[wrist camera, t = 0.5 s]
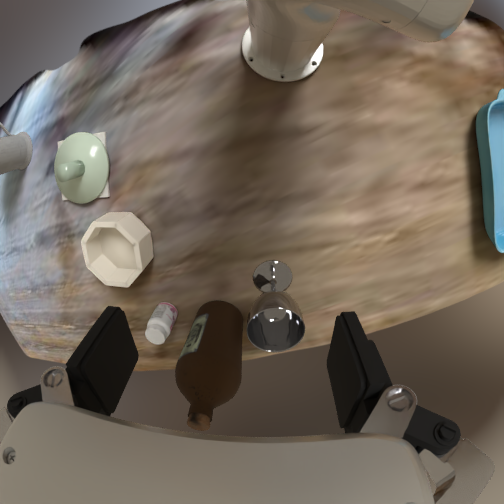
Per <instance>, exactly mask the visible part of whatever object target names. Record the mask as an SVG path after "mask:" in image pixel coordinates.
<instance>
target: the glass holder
mask: <svg viewBox="0 0 504 504" xmlns="http://www.w3.org/2000/svg"><path fill="white" fill-rule="evenodd" d="M0 127H1V128H2V129H3V130H4V132H5V133H6V134H7V135H8V136H6V137H1V138H0V175H1V174H4V173H7V172H10V171H13V170H16V169H19V170H23V169H25V168H26V167H27V166H28V165H29V163H30V160H31V157H32V141H31V138H30V136H29V135H28V134H27V133H26V132H20V133H19V134H17V135H11V134H10V133H9V132H8V131H7V129H6V128H5V127H4V126H3V125H2V124H1V122H0Z"/></svg>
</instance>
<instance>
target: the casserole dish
mask: <svg viewBox="0 0 504 504" xmlns="http://www.w3.org/2000/svg"><path fill="white" fill-rule="evenodd" d="M476 135H477V144H478V151H479V158H480V167H481V178H482V193H483V212H484V223H485V228H486V231H487V234H488V236H489V238H490V239H491V241H492V243H493V244H494V246H495V247H496V249H497V250H498V251H499V252H500V253H504V89H501V90H500V91H499V93H498V96H497V99H496V100H494V101H492V102H490V103H488V104H486V105H484V106H483V107H482V108H481V109H480V110H479V112H478V114H477V118H476Z"/></svg>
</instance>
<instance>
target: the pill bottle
mask: <svg viewBox="0 0 504 504" xmlns="http://www.w3.org/2000/svg"><path fill="white" fill-rule="evenodd" d="M177 315H178V312H177V309H176V308H175V307H174V306H173V305H172V304H170V303H167V302H162V303H159V304H158V305H157V307H156V308H155V310H154V312H153V314H152V316H151V318H150V320H149V321H148V324H147V330H146V332H145V336H146V338H147V339H148V340H149V341H150V342H151V343H153V344H157V345H159V344H163V343H164V342H165V340H166V338H167V337H168V336H169V335H170V333H171V330H172V328H173V325H174V323H175V320H176V318H177Z"/></svg>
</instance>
